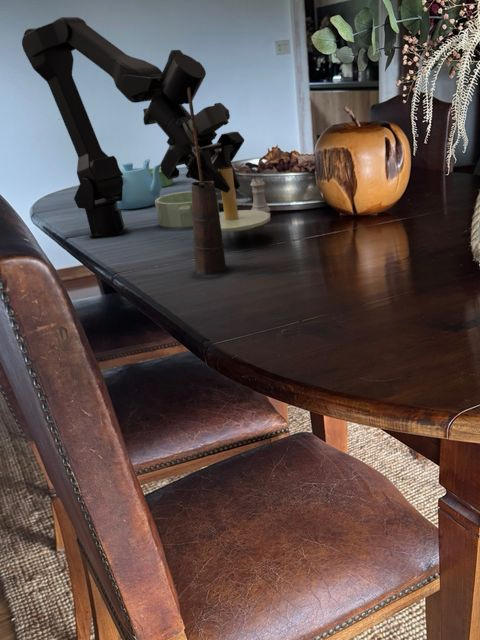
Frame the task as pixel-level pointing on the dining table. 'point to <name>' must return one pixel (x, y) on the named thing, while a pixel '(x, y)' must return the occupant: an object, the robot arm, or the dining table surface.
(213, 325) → the dining table surface
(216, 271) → the butter churn
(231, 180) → the lid
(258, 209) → the rook chess piece
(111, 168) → the robot arm
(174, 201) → the pan
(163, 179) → the ramekin
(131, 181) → the teapot
